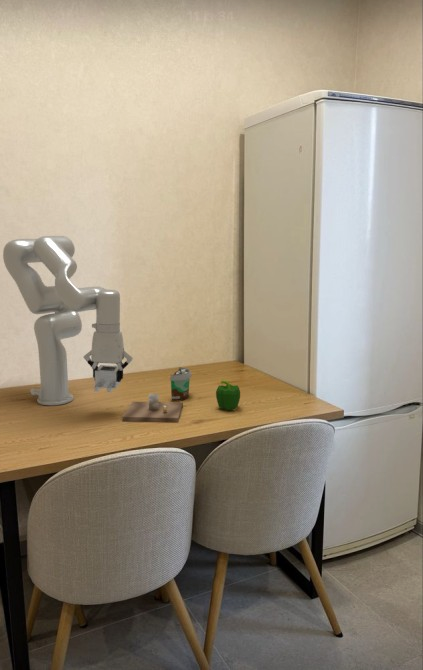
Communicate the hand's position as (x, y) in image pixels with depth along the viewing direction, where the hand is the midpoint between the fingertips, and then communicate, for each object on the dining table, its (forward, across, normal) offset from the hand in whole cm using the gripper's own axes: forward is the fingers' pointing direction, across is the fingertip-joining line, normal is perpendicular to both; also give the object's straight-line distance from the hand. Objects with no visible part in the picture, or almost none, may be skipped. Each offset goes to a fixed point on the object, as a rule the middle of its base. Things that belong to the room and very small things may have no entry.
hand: (108, 379), depth 175 cm
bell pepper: (+10, +40, +7) cm, 42 cm away
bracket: (+2, 0, -2) cm, 3 cm away
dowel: (+9, +20, -3) cm, 22 cm away
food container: (+11, +24, +19) cm, 32 cm away
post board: (+11, +16, +1) cm, 19 cm away
